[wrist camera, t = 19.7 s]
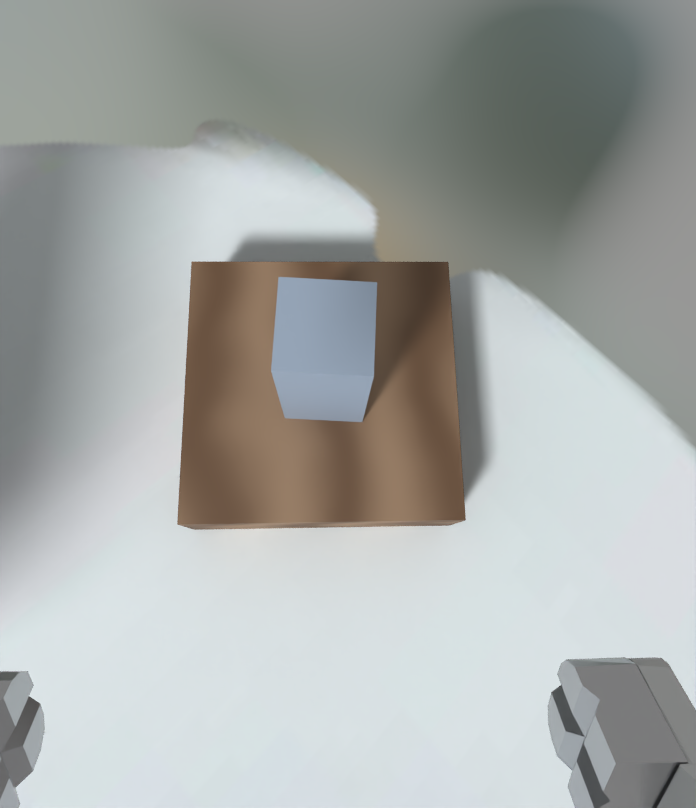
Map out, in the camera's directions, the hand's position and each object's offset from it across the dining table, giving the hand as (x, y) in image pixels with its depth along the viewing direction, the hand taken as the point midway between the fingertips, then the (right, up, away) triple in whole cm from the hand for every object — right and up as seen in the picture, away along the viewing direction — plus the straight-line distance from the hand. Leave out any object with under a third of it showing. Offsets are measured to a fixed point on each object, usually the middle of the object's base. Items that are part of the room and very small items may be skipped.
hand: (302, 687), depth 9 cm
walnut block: (-1, +4, +31) cm, 31 cm away
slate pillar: (-1, +6, +26) cm, 27 cm away
